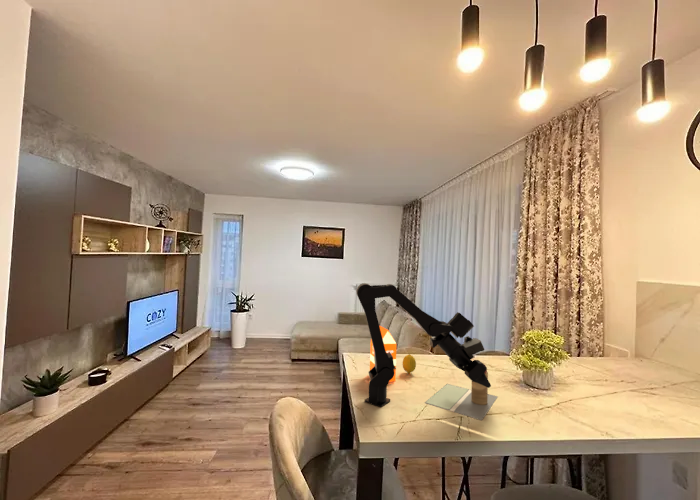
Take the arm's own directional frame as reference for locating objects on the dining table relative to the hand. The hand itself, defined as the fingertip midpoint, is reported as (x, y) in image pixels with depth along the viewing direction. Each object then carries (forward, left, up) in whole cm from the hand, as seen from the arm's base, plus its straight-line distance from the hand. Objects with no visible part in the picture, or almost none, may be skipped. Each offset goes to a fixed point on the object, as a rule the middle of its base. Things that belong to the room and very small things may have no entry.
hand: (483, 381), depth 107 cm
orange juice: (-2, +38, -8) cm, 39 cm away
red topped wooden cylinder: (-1, +1, -7) cm, 7 cm away
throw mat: (-3, +6, -7) cm, 10 cm away
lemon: (+10, +32, -8) cm, 34 cm away
